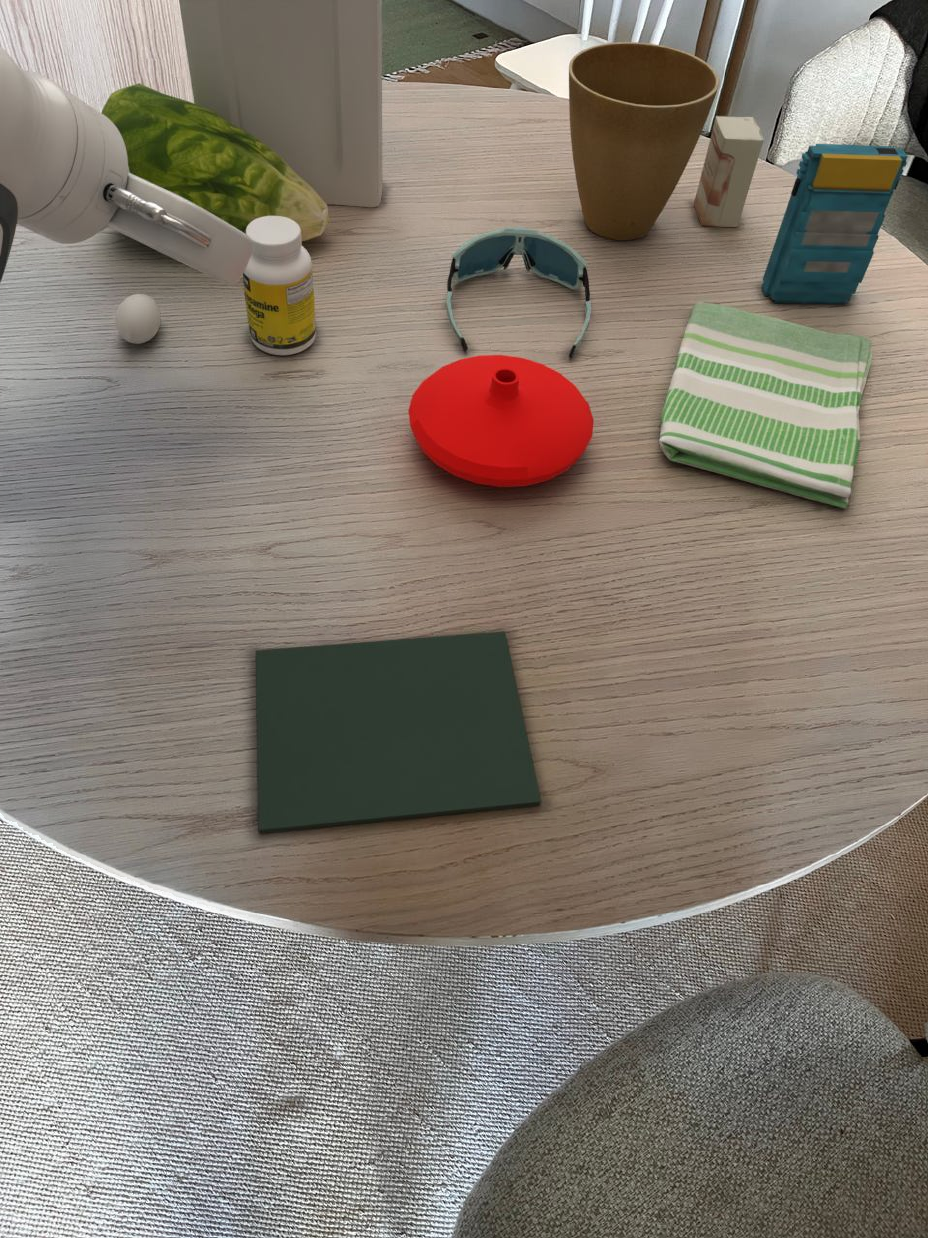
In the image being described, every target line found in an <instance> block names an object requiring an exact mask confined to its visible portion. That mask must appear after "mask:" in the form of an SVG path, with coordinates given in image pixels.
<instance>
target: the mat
mask: <svg viewBox="0 0 928 1238" xmlns="http://www.w3.org/2000/svg"><path fill="white" fill-rule="evenodd" d="M255 695H256V696H255V701H256V766H257V767H256V769H257V776H256V777H257V778H256V779H257V825H258V826H257V830H258V834H269V833H279V832H280V833H281V832H288V831H298V830H309V829H317V828H319V829H320V828H327V827H337V826H348V825H356V824H367V823H368V824H369V823H376V822H385V821H386V822H387V821H395V820H407V819H418V818H426V817H436V816H445V815H447V816H448V815H455V814H457V815H458V814H465V813H466V814H467V813H474V812H485V811H494V810H505V809H514V808H524V807H534V806H535V807H536V806H541V804H542V803H541V802H542V800H541V795H540V790H539V785H538V780H537V776H536V771H535V767H534V763H533V757H532V753H531V748H530V747H531V746H530V743H529V738H528V733H527V729H526V723H525V719H524V714H523V710H522V704H521V701H520V700H521V699H520V696H519V695H520V694H519V691H518V686H517V682H516V676H515V672H514V667H513V662H512V657H511V653H510V649H509V644H508V639H507V634H506V631H505V630H504V631H490V632H478V633H466V634H454V635H451V634H450V635H441V636H440V635H438V636H425V637H415V638H414V637H412V638H401V639H400V638H399V639H388V640H387V639H386V640H376V641H374V640H373V641H361V642H350V643H349V642H348V643H337V644H336V643H335V644H334V643H333V644H323V645H311V646H310V645H309V646H298V647H297V646H296V647H284V648H283V647H282V648H271V649H260V650H259V649H258V650H257V649H256V650H255Z"/></svg>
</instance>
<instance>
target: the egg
mask: <svg viewBox="0 0 928 1238" xmlns="http://www.w3.org/2000/svg"><path fill="white" fill-rule="evenodd" d="M161 314H162V313H161V310H160V307H159V305H158V303H157V301H155V300H154V298H152V297H151V296H149V295H147V294H144V293H135V294H132V295H128V297H126V298H125V299H123V300H122V302H121V303H120V304H119V306H118V308H117V311H116V313H115V327H116V330H117V332H118V334H119V336H120V337H121V338H122V339H123V340H124V341H126V342H127V343H130V344H135V345H140V344H144V343H147V342H149V341H150V340H152V339H153V338H154V337H155V336H156V335H157V333H158V331H159V328H160V326H161V323H162V317H161V316H162V315H161Z"/></svg>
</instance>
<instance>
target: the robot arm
mask: <svg viewBox="0 0 928 1238" xmlns="http://www.w3.org/2000/svg"><path fill="white" fill-rule="evenodd" d="M17 226H20V227H22V228H24V229H26V230H29V231H30V232H33V233H34V234H37V235H39V236H41V237H44V238H45V239H48V240H50V241H53V242H55V243H59V244H64V245H65V244H66V245H71V244H77V243H82V242H84V241H86V240H89V239H91V238H92V237H95V235H97V234H99V233H101V232H102V231H104V230H105V229H107V228H110V229H111V230H113V231H115V232H118V233H119V234H122V235H124V236H126V237H128V238H130V239H133V240H134V241H136V242H138V243H140V244H142V245H145V246H147V247H149V248H151V249H152V250H155V251H157V252H159V253H161V254H163V255H165V256H166V257H169V258H171V259H173V260H175V261H177V262H179V263H182V264H183V265H186V266H188V267H189V268H192V269H193V270H196V271H198V272H200V273H202V274H204V275H206V276H208V277H209V278H212V279H214V280H216V281H218V282H220V283H223V284H225V285H229V286H234V285H235V286H236V285H237V284H238V283H239V282H240V280H241V278H243V276H242V275H243V273H244V271H245V269H246V267H247V265H248V262H249V259H250V257H251V253H252V250H253V242H252V239H251V238H250V237H249V236H248V235H246V234H245V233H243V232H242V231H240V230H239V229H237V228H235V227H234V226H232V225H230V224H229V223H227V222H225V221H224V220H222V219H220V218H219V217H217V216H215V215H213V214H212V213H210V212H208V211H206V210H205V209H203V208H201V207H200V206H198V205H196V204H194V203H192V202H190V201H189V200H187V199H185V198H183V197H181V196H179V195H177V194H175V193H172V192H170V191H168V190H166V189H164V188H162V187H159V186H157V185H155V184H153V183H151V182H149V181H146V180H144V179H142V178H140V177H138V176H135V175H133V174H131V173H130V172H129V167H128V157H127V151H126V147H125V143H124V141H123V138H122V136H121V134H120V132H119V130H118V129H117V127H116V126H115V125H114V124H113V122H112V121H111V120H110V119H109V118H107V117H106V116H105V115H103V114H102V112H100V111H99V110H97V109H96V108H94V107H93V106H91V105H89V104H88V103H86V102H85V101H83V99H81V98H80V97H78V96H76V94H73V93H72V92H70V91H69V90H67V89H66V88H64V87H63V86H61V85H60V84H58V83H57V82H55V80H53V79H50V78H49V77H47V76H46V75H43V74H41V73H38V72H36V71H32V70H29V69H24V68H22V67H21V66H19V65H18V64H17V63H16V61H15V60H14V59H13V58H12V56H11V55H10V54H9V53H8V52H7V51H6V50H5V49H4V48H3V47H1V46H0V284H1V283H2V280H3V278H4V274H5V270H6V268H7V264H8V260H9V258H10V254H11V250H12V246H13V243H14V240H15V236H16V235H15V234H16V230H17Z"/></svg>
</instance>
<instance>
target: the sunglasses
mask: <svg viewBox="0 0 928 1238" xmlns="http://www.w3.org/2000/svg"><path fill="white" fill-rule="evenodd" d="M514 256H521V257H522V259H523V260H522V261H523V263H524V267H525V269H526V271H527V273H529V272H530V271H532V272H533V273H534V274H536V275H537V276H539V277H540V278H543V279H547V280H551V281H553V282H556V283H558V284H560V285H562V286H564V287H566V288H569V289H571V290H578V289H581V288H582V287H583V289H584V297H585V299H584V312H585V320H584V323H583V327H582V330H581V332H580V333H579V336H578V337H577V339H576V341H575V342H574V343H573V345H572V346H571V349H570V352H569V354H568V358H572V357H573V355H574V354H575V351H576V350H577V348H578V346H579V345H580V343H581V342H582V340H583V339H584V337H585V334H586V332H587V330H588V327H589V324H590V319H591V313H592V303H591V291H590V281H589V274H588V269H587V267H588V264H587V261H586V260H585V259H584V258H583V256H582V254H580V253H579V252H578V251H577V250H575V249H574V248H572V247H571V246H570V245H569V244H568V243H565V242H564V241H562V240H560V239H558V238H556V237H555V236H553V235H551V234H548V233H545V232H541V231H539V230H538V229H532V228H526V227H525V228H524V227H518V226H517V227H504V228H502V229H494V230H491V231H488V232H485V233H481V234H479V235H477V236H475V237H473V238H471V239H469V240H467V241H466V242H465V243H463V244H462V245H460V246H459V247H458V248H457V249H456V250H455V251H454V252H453V254H452V255H451V257H452V259H451V263H450V267H449V274H448V278H447V281H446V282H447V283H446V284H447V286H446V288H447V295H446V299H445V301H446V302H445V303H446V304H445V305H446V312H447V313H446V314H447V317H448V320H449V323H450V325H451V328H452V329H451V330H452V331H453V332H454V334H455V335H456V337H457V339H458V341H459V343H461V347H462V349H463V351H465V352H466V351H468V350H469V348H468V345H467V342H466V340H465V338H464V336H463V335H462V333H461V331H460V330H459V328H458V325H457V323H456V321H455V317H454V313H453V310H452V301H453V294H454V293H453V289H452V282H453V281H452V280H454V281H456V282H459V283H460V282H462V281H466V280H468V279H471V278H476V277H479V276H480V277H481V276H485V275H491V274H493V273H495V272H497V271H498V270H500V269H503V270H504V271H506V270H507V269H508V267H509V265H510V264H511V262H512V259H513V257H514Z"/></svg>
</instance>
